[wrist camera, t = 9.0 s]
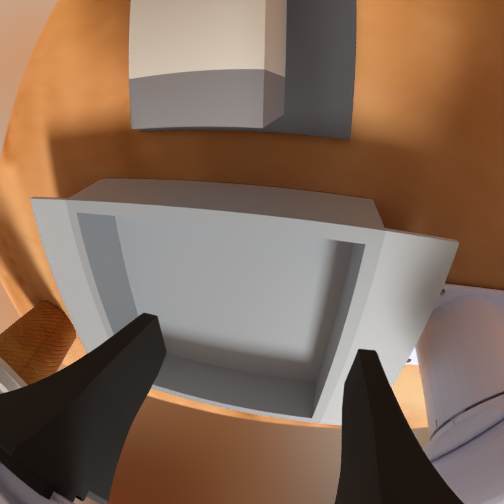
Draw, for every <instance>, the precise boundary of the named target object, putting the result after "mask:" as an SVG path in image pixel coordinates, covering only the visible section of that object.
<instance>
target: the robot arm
mask: <svg viewBox="0 0 504 504" xmlns="http://www.w3.org/2000/svg"><path fill="white" fill-rule="evenodd" d="M442 289H444V290H443V291H441V293H440V295H439V298H438V300H437V302H436V304H435V307H434V309H433V311H432V313H431V315H430V317H429V320H428V322H427V324H426V326H425V328H424V330H423V332H422V334H421V336H420V338H419V340H418V342H417V344H416V345H415V347H414V349H413V351H412V353H411V355H410V357H409V358H408V360H407V362H406V364H413V365H419V369H420V375H421V380H422V386H423V392H424V398H425V405H426V412H427V420H428V428H429V437H430V443H429V444H427V445H426V446H424V447H423V448H421V446H420V444H419V443H418V441H417V439H416V437H415V436H414V434H413V432H412V430H411V428H410V426H409V424H408V422H407V420H406V418H405V417H404V414H403V412H402V410H401V408H400V406H399V404H398V402H397V400H396V397H395V395H394V393H393V391H392V388H391V386H390V384H389V381H388V379H387V377H386V374H385V372H384V369H383V367H382V364H381V362H380V359H379V356H378V354H377V352H376V351H375V350H367V349H358V351H357V354H356V356H355V359H354V361H353V364H352V366H351V368H350V371H349V373H348V376H347V378H346V380H345V383H344V392H343V402H342V455H341V472H340V478H339V484H338V490H337V495H336V501H335V504H504V290H496V289H487V288H479V287H470V286H462V285H453V284H445V283H444V286H443V288H442ZM166 353H167V351H166V347H165V343H164V339H163V335H162V332H161V328H160V324H159V320H158V316H156V315H152V314H148V313H142V314H141V315H139V316H138V317H137V318H135V319H134V320H133V321H131V322H130V323H129V324H128V325H126V326H125V327H124V328H122V329H121V330H120V331H118V332H117V333H116V334H114V335H113V336H112V337H110V338H109V339H108V340H106V341H105V342H104V343H102V344H101V345H100V346H98V347H97V348H95V349H94V350H92V351H91V352H89V353H88V354H86V355H85V356H83V357H82V358H80V359H79V360H77V361H76V362H74V363H72V364H71V365H69V366H67V367H66V368H64V369H62V370H60V371H58V372H56V373H54V374H52V375H50V376H48V377H46V378H44V379H41V380H39V381H37V382H35V383H32V384H30V385H27V386H24V387H22V388H19V389H16V390H12V391H9V392H5V393H1V394H0V504H74V503H73V501H74V499H75V497H76V498H78V499H79V500H81V501H84V500H85V498H86V496H87V497H89V498H90V499H92V500H94V501H96V502H98V503H100V504H103V503H107V502H108V501H109V496H110V491H111V486H112V482H113V478H114V474H115V470H116V467H117V463H118V460H119V457H120V454H121V451H122V448H123V445H124V442H125V440H126V437H127V434H128V432H129V429H130V427H131V425H132V422H133V420H134V418H135V416H136V414H137V412H138V411H139V409H140V407H141V405H142V403H143V401H144V400H145V398H146V396H147V394H148V392H149V391H150V389H151V387H152V385H153V383H154V381H155V379H156V378H157V376H158V374H159V371H160V369H161V366H162V364H163V361H164V358H165V355H166Z"/></svg>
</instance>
